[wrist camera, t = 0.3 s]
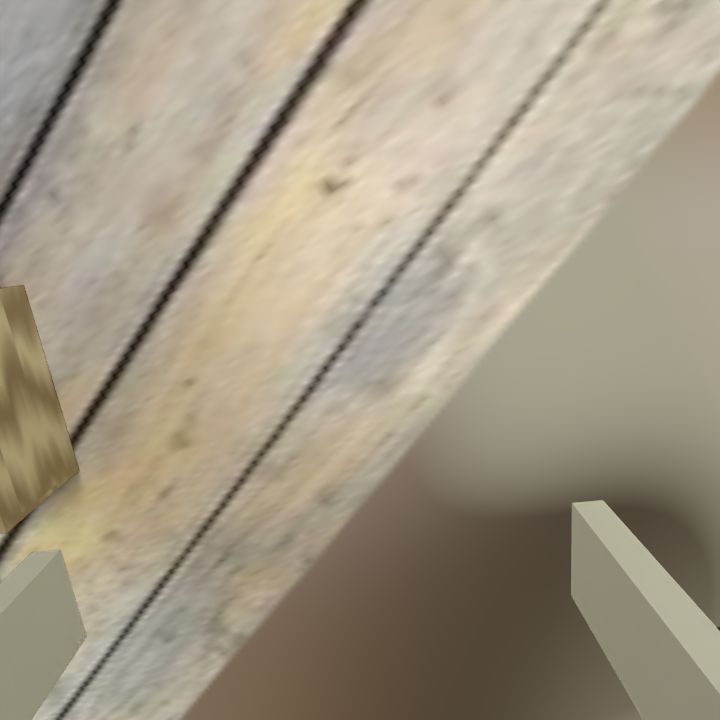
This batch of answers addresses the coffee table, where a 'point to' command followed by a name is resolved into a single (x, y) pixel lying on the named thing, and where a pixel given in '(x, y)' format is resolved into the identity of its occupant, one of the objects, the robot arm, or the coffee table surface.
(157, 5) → the coffee table surface
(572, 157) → the coffee table surface
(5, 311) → the socket block
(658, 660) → the robot arm
